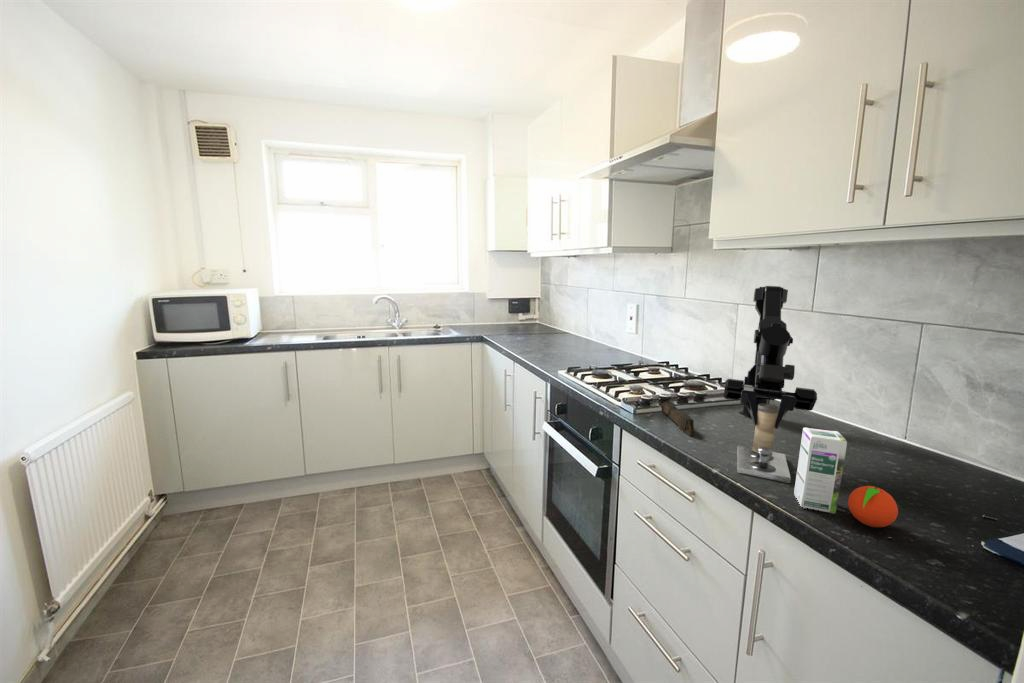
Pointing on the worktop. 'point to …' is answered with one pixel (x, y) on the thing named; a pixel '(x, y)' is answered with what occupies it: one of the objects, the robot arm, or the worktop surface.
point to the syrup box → (820, 469)
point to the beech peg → (765, 426)
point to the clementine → (872, 506)
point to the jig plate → (754, 472)
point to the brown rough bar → (678, 417)
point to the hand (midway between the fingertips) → (766, 426)
